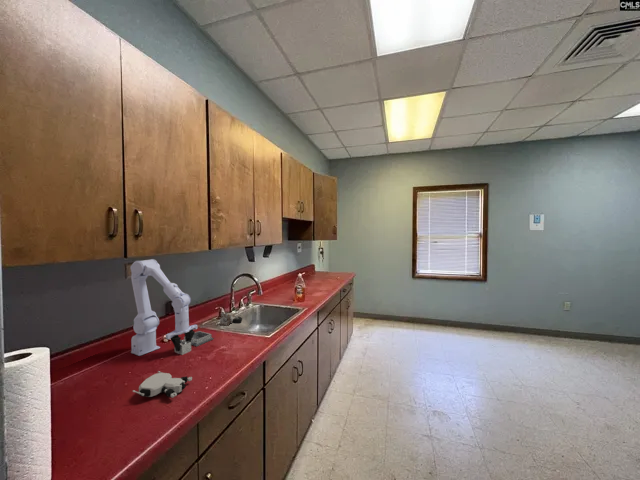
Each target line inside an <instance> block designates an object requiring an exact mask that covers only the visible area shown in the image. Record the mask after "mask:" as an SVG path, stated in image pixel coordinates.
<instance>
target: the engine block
mask: <svg viewBox="0 0 640 480" xmlns="http://www.w3.org/2000/svg"><path fill="white" fill-rule="evenodd" d="M173 346H174V345H173ZM190 352H192V345H191V342H190V341H187V340H184V339H180V351H176V350H175V346H174V353H176V354H178V355H181V356H183V355H185V354H188V353H190Z"/></svg>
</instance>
